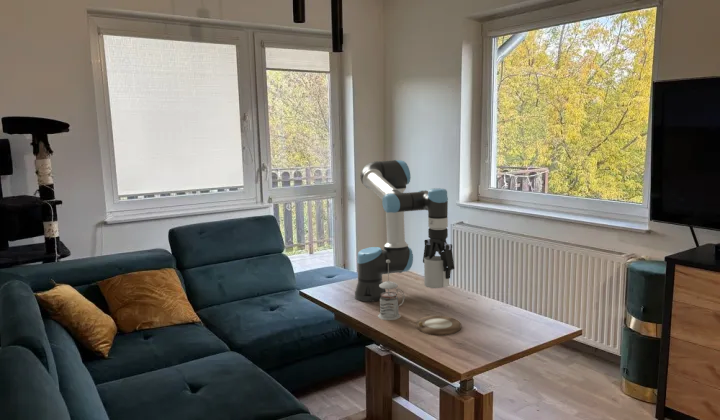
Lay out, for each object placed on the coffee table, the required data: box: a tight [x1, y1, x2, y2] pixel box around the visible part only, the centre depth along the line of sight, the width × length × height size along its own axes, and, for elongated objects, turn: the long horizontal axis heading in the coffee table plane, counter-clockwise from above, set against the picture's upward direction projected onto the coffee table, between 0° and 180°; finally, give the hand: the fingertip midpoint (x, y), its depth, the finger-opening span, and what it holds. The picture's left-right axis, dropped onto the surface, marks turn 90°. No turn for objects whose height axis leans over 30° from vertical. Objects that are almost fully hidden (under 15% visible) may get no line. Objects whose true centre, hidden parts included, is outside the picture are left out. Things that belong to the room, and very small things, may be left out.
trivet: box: [415, 315, 462, 336], centre depth 212 cm, size 18×18×3 cm
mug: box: [423, 255, 452, 289], centre depth 208 cm, size 12×8×11 cm
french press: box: [377, 260, 405, 321], centre depth 223 cm, size 10×12×25 cm
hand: (438, 283), depth 209 cm, fingers closed on mug, 8 cm apart
